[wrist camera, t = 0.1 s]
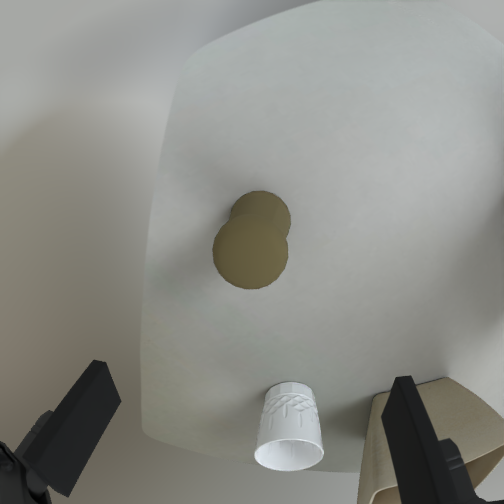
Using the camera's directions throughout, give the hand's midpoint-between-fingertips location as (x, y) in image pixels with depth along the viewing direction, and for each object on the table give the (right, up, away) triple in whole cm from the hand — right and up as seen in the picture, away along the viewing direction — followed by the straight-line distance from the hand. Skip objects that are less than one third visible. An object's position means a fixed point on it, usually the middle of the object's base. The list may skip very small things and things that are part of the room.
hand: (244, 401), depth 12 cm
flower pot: (+24, -18, +25) cm, 40 cm away
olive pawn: (+1, +10, +18) cm, 20 cm away
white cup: (+5, -13, +25) cm, 29 cm away
